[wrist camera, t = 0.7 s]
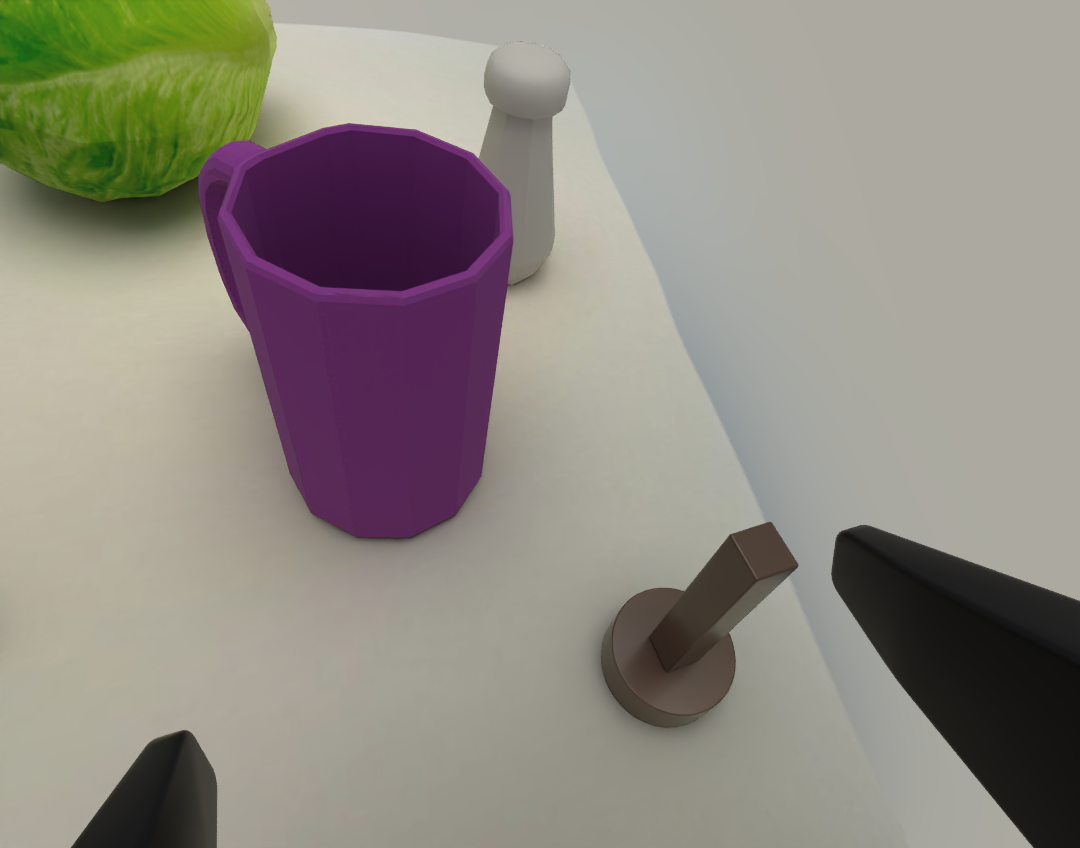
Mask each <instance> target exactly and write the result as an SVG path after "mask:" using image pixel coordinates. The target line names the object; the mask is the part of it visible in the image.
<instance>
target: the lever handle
mask: <svg viewBox="0 0 1080 848" xmlns="http://www.w3.org/2000/svg"><path fill="white" fill-rule="evenodd" d="M797 567H798V563H797V562H796V560H795V558H794V557H793V555H792V554H791V552H790V550H789V549H788V547H787V546H786V544H785V543H784V541H783V539H782V538H781V536H780V535H779V533H778V532H777V530H776V528H775V527H774V525H773V524H772V523H771V522H768V523H765V524H761V525H758V526H755V527H752V528H749V529H746V530H743V531H739V532H736V533H733V534H730V535H729V536H728V538H727V539H726V540H725V541H724V543H723V544H722V545H721V546H720V548H719V549H718V550H717V551H716V553H715V554H714V555H713V557H712V558H711V559H710V560H709V562H708V563H707V564H706V565H705V567H704V568H703V569H702V570H701V572H700V573H699V574H698V575H697V577H696V578H695V579H694V580H693V582H692V583H691V584H690V585H689V587H688V588H687V589H686V590H685V592H684V591H681V590H677V589H672V588H655V589H650V590H646V591H643V592H641V593H639V594H637V595H635V596H634V597H632V598H631V599H630V600H629V601H627V602H626V604H625V605H624V606H623V607H622V608H621V610H620V611H619V613H618V614H617V616H616V618H615V619H614V621H613V622H612V624H611V625H610V627H609V629H608V630H607V633H606V635H605V637H604V641H603V645H602V654H601V660H602V668H603V673H604V676H605V679H606V682H607V684H608V686H609V688H610V690H611V692H612V694H613V695H614V697H615V698H616V699H617V701H618V702H619V703H620V704H621V705H622V706H623V707H624V708H625V709H626V710H627V711H628V712H629V713H631V714H632V715H633V716H635V717H637V718H638V719H640V720H642V721H644V722H646V723H649V724H652V725H655V726H660V727H678V726H683V725H686V724H689V723H691V722H693V721H695V720H697V719H698V718H699V717H701V716H702V715H703V714H705V713H706V712H707V711H709V710H710V709H711V708H713V707H714V706H716V705H717V704H718V703H719V702H720V701H721V700H722V699H723V698H724V697H725V695H726V694H727V692H728V691H729V689H730V687H731V685H732V681H733V678H734V674H735V663H736V660H735V651H734V646H733V642H732V640H731V637H730V634H729V632H730V631H731V630H732V629H733V628H734V627H735V626H736V625H737V624H738V623H739V622H740V621H741V620H742V619H743V618H744V617H745V616H747V615H748V614H749V613H750V612H751V611H752V610H753V609H754V608H755V607H756V606H757V605H758V604H759V603H760V602H761V601H762V600H764V599H765V598H766V597H767V596H768V595H769V594H770V593H771V592H772V591H773V590H774V589H775V588H776V587H777V586H778V585H779V584H780V583H782V582H783V581H784V580H785V579H786V578H787V577H788V576H789V575H790V574H791V573H792V572H793V571H794V570H795V569H796V568H797Z"/></svg>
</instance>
